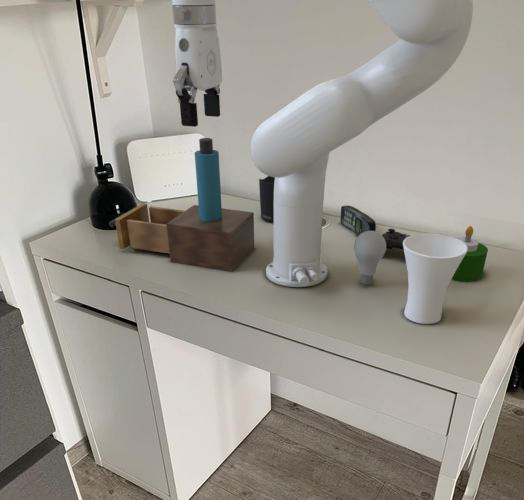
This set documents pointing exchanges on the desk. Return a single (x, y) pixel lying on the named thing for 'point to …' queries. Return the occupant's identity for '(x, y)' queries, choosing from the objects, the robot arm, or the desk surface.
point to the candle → (471, 259)
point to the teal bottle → (208, 181)
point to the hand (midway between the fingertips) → (201, 120)
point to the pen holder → (267, 198)
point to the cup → (430, 273)
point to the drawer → (145, 228)
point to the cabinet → (211, 239)
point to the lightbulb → (369, 254)
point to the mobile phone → (356, 220)
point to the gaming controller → (394, 239)
